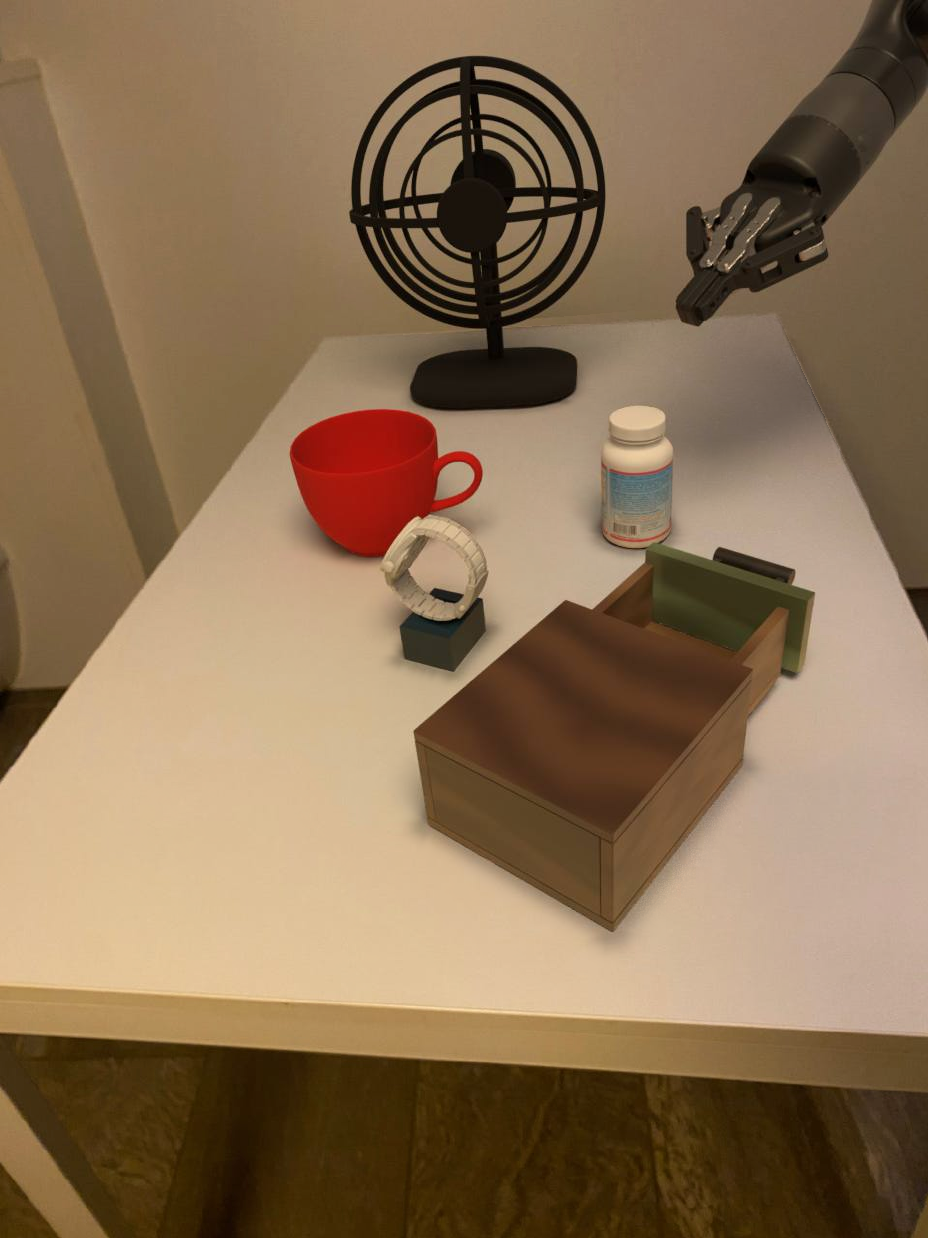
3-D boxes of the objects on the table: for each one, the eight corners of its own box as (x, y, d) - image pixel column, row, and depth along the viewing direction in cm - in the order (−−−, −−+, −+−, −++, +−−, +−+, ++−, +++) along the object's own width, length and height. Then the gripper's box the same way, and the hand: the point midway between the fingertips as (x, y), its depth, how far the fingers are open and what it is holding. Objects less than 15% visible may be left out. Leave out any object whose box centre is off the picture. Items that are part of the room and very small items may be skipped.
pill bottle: (684, 533, 85) (691, 416, 79) (633, 558, 83) (635, 439, 76) (638, 508, 90) (640, 395, 83) (587, 531, 87) (585, 416, 81)
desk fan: (369, 422, 111) (314, 77, 90) (394, 363, 125) (351, 53, 104) (606, 413, 107) (605, 51, 86) (605, 354, 121) (604, 30, 100)
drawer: (681, 581, 78) (684, 514, 74) (831, 631, 71) (843, 559, 67) (543, 714, 67) (539, 642, 63) (706, 788, 60) (712, 712, 56)
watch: (417, 614, 79) (400, 496, 73) (505, 635, 76) (495, 513, 69) (382, 653, 75) (360, 533, 69) (473, 677, 72) (460, 553, 65)
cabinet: (568, 690, 70) (565, 599, 65) (742, 765, 62) (753, 668, 57) (428, 825, 61) (412, 730, 56) (612, 932, 53) (613, 833, 48)
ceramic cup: (473, 582, 82) (462, 478, 76) (289, 572, 86) (265, 472, 80) (501, 506, 92) (494, 409, 86) (335, 501, 96) (318, 407, 90)
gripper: (904, 203, 73) (769, 371, 71) (760, 183, 82) (637, 333, 80) (890, 117, 68) (744, 297, 66) (738, 106, 77) (605, 264, 75)
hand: (685, 316), depth 73 cm, fingers closed
